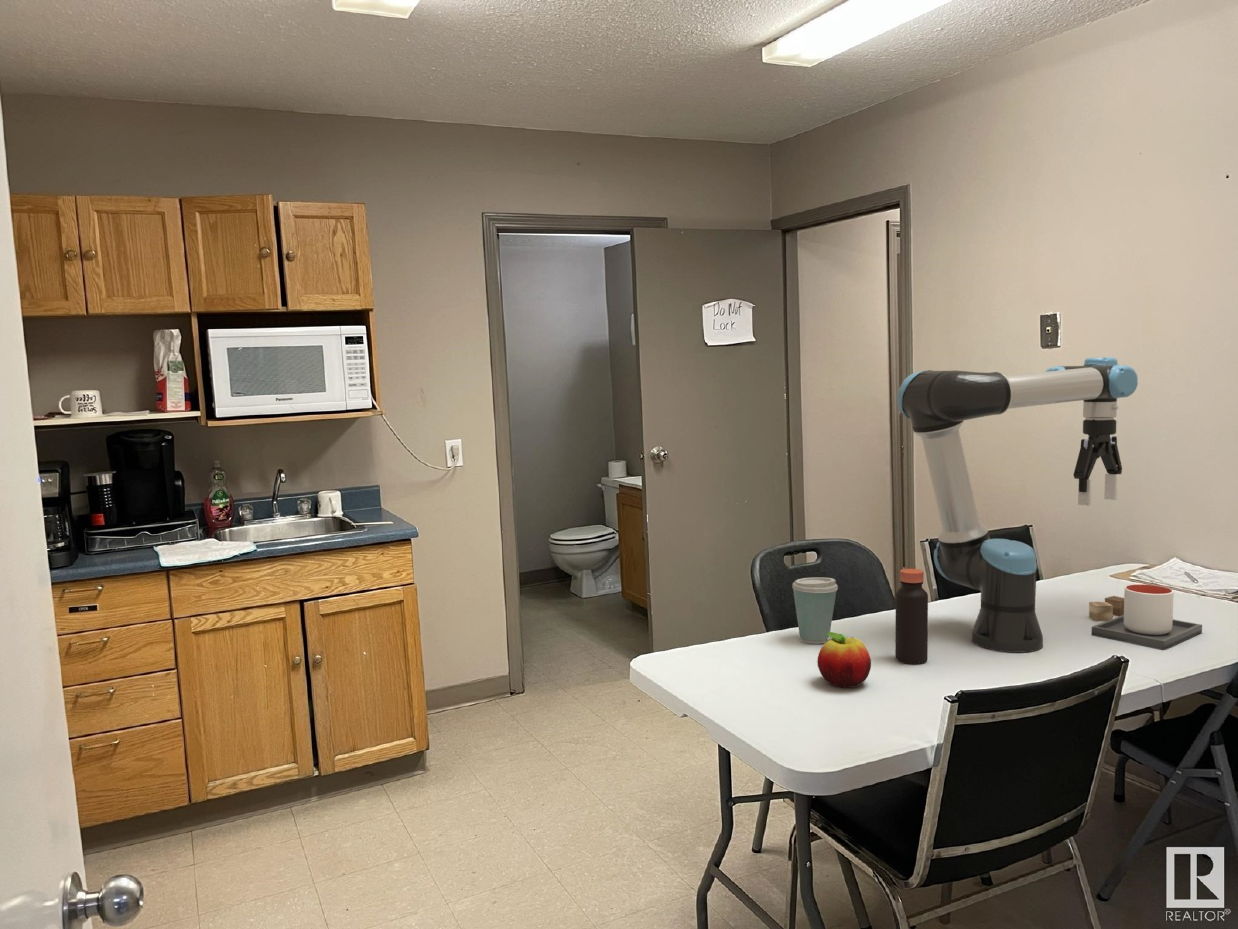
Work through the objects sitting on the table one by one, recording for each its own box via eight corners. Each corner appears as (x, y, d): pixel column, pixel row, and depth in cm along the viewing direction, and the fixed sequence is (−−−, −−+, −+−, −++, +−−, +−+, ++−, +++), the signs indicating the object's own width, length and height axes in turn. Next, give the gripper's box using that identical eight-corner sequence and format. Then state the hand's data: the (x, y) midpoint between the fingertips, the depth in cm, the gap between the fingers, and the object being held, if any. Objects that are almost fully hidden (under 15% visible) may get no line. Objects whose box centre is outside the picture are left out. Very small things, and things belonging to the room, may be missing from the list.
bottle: (888, 658, 205) (889, 569, 203) (913, 653, 208) (913, 566, 206) (909, 666, 199) (910, 575, 197) (934, 662, 202) (935, 572, 200)
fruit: (838, 695, 183) (838, 646, 182) (806, 679, 193) (806, 633, 192) (882, 687, 187) (882, 639, 186) (848, 671, 197) (848, 626, 196)
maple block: (1095, 621, 230) (1096, 606, 229) (1088, 617, 234) (1089, 601, 233) (1112, 621, 229) (1113, 605, 229) (1105, 617, 233) (1105, 601, 233)
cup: (1179, 637, 212) (1180, 594, 211) (1132, 636, 214) (1133, 593, 213) (1162, 625, 222) (1163, 584, 221) (1117, 624, 224) (1118, 583, 223)
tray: (1163, 650, 206) (1164, 641, 205) (1091, 635, 218) (1091, 626, 218) (1201, 633, 218) (1202, 624, 217) (1131, 619, 230) (1131, 611, 230)
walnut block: (1119, 616, 234) (1119, 601, 233) (1104, 613, 237) (1104, 598, 237) (1128, 614, 236) (1129, 599, 235) (1113, 611, 239) (1114, 595, 239)
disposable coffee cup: (783, 641, 220) (783, 579, 218) (807, 631, 228) (807, 571, 226) (823, 649, 213) (822, 585, 211) (846, 639, 220) (846, 577, 219)
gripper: (1090, 421, 222) (1088, 509, 224) (1138, 416, 237) (1135, 498, 239) (1059, 420, 228) (1057, 505, 230) (1108, 415, 243) (1106, 495, 245)
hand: (1097, 502), depth 235 cm, fingers open, 13 cm apart
